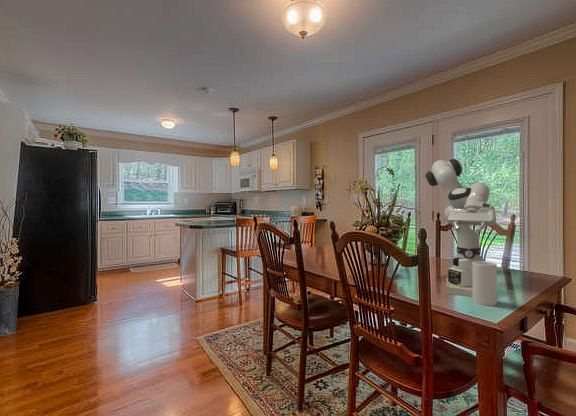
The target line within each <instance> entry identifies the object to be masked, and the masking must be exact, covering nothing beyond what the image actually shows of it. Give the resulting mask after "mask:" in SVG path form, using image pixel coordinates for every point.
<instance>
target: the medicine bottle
mask: <svg viewBox="0 0 576 416" xmlns="http://www.w3.org/2000/svg"><path fill="white" fill-rule="evenodd" d="M453 258H454V257H453ZM453 258H452V266H453V268H451V267H448V268H447V271H448V274H447V278H448V283H450V284H453V285H456V286H459V287H465V286H472V285H473V270H470V269H467V268H468V260H467V259H465V258H454V259H453Z"/></svg>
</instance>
